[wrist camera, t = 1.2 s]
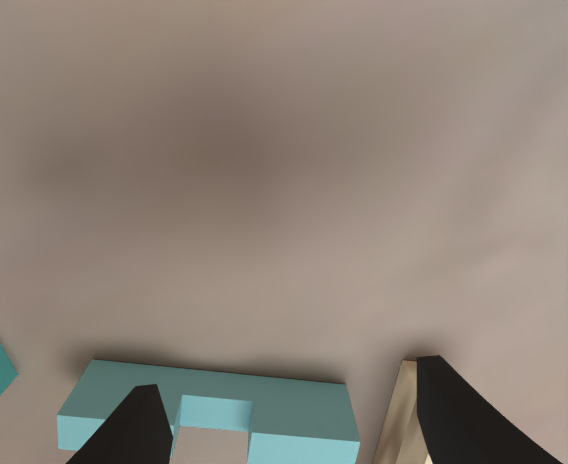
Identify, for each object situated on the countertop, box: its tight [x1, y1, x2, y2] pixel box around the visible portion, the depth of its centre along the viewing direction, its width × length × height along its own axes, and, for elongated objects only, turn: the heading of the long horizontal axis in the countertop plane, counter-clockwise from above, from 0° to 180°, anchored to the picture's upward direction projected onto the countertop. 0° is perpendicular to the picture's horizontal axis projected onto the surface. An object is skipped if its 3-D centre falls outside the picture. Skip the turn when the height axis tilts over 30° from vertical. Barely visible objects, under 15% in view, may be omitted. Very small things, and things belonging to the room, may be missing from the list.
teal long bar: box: [57, 359, 361, 464], centre depth 22 cm, size 2×14×4 cm, turn 82°
